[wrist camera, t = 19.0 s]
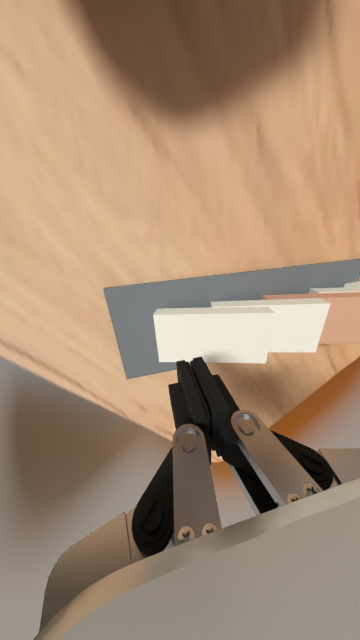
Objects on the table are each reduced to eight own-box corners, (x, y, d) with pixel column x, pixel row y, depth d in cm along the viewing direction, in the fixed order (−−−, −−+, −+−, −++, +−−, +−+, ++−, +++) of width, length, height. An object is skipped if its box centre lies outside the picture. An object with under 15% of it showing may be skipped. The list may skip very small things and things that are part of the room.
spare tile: (261, 343, 18) (363, 343, 17) (267, 299, 16) (383, 296, 15) (256, 336, 20) (350, 335, 19) (262, 295, 18) (367, 291, 17)
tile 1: (157, 308, 16) (267, 306, 15) (162, 352, 18) (259, 353, 17) (153, 315, 15) (275, 312, 14) (159, 362, 17) (265, 363, 16)
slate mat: (361, 258, 19) (366, 258, 19) (335, 335, 23) (338, 336, 23) (104, 287, 15) (103, 288, 14) (127, 376, 19) (126, 379, 18)
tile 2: (210, 301, 17) (318, 297, 16) (210, 344, 19) (305, 343, 18) (212, 307, 16) (330, 303, 14) (211, 352, 18) (315, 352, 16)
